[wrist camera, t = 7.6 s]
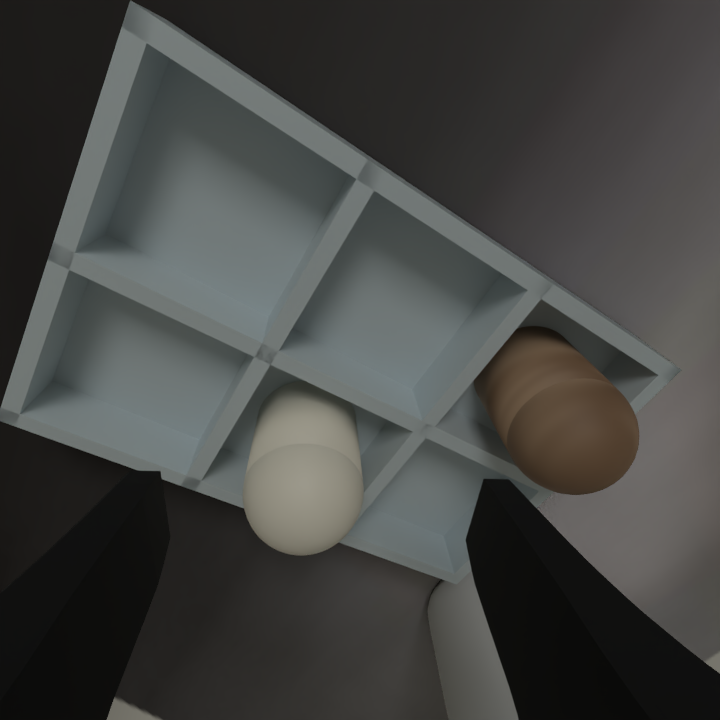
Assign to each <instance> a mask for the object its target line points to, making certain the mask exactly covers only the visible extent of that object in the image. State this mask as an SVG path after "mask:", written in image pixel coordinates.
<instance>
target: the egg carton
mask: <svg viewBox="0 0 720 720" xmlns="http://www.w3.org/2000/svg"><path fill="white" fill-rule="evenodd" d="M527 326H541V327H546V328H549V329H552V330H554V331H556V332H558V333H559V334H561V335H562V336H563V337H564V338H565V339H566V340H567V341H568V342H569V343H570V344H571V345H573V346H574V347H575V348H576V349H577V350H578V351H579V352H580V353H581V354H582V355H583V356H584V357H585V358H586V359H587V360H588V361H589V362H590V363H591V364H592V365H593V366H594V367H595V368H596V369H597V370H598V371H599V372H600V373H601V374H602V375H604V376H605V377H606V378H607V379H608V380H609V381H610V382H611V383H612V384H613V385H614V386H615V387H616V388H617V389H618V390H619V391H620V392H621V393H622V394H623V395H624V397H625V398H626V399H627V400H628V402H629V404H630V405H631V407H632V409H633V411H634V413H635V414H636V413H637V412H638V411H639V410H640V409H641V408H642V407H643V406H644V405H645V404H646V403H648V402H649V401H650V400H651V399H652V398H653V397H654V396H655V395H656V394H657V393H658V392H659V391H660V390H661V389H662V388H663V387H664V386H665V385H666V384H667V383H668V382H670V381H671V380H672V379H673V378H674V377H675V376H676V375H677V374H678V373H679V372H680V371H681V369H680V368H678V367H677V366H676V365H674V364H673V363H672V362H670V361H669V360H668V359H666V358H665V357H664V356H662V355H661V354H660V353H658V352H657V351H656V350H654V349H653V348H651V347H650V346H649V345H647V344H646V343H645V342H643V341H642V340H641V339H639V338H638V337H637V336H635V335H634V334H632V333H631V332H630V331H628V330H627V329H625V328H624V327H622V326H621V325H619V324H618V323H616V322H615V321H613V320H612V319H610V318H609V317H607V316H606V315H604V314H603V313H601V312H600V311H598V310H597V309H595V308H594V307H592V306H591V305H589V304H588V303H586V302H585V301H583V300H582V299H581V298H579V297H578V296H576V295H575V294H573V293H572V292H570V291H569V290H567V289H566V288H564V287H563V286H561V285H560V284H558V283H557V282H555V281H554V280H552V279H551V278H549V277H548V276H546V275H545V274H543V273H542V272H540V271H539V270H537V269H536V268H534V267H533V266H532V265H530V264H529V263H527V262H526V261H524V260H523V259H521V258H520V257H518V256H517V255H515V254H514V253H512V252H511V251H509V250H508V249H506V248H505V247H503V246H502V245H500V244H499V243H497V242H496V241H494V240H493V239H491V238H490V237H488V236H487V235H485V234H484V233H483V232H481V231H480V230H478V229H477V228H475V227H474V226H472V225H471V224H469V223H468V222H466V221H465V220H463V219H462V218H460V217H459V216H457V215H456V214H454V213H453V212H451V211H450V210H448V209H447V208H445V207H444V206H442V205H441V204H439V203H438V202H437V201H435V200H434V199H432V198H431V197H429V196H428V195H426V194H425V193H423V192H422V191H420V190H419V189H417V188H416V187H414V186H413V185H411V184H410V183H408V182H407V181H405V180H404V179H402V178H401V177H399V176H398V175H396V174H395V173H393V172H392V171H390V170H389V169H388V168H386V167H385V166H383V165H382V164H380V163H379V162H377V161H376V160H374V159H373V158H371V157H370V156H368V155H367V154H365V153H364V152H362V151H361V150H359V149H358V148H356V147H355V146H353V145H352V144H350V143H349V142H347V141H346V140H344V139H343V138H341V137H340V136H339V135H337V134H336V133H334V132H333V131H331V130H330V129H328V128H327V127H325V126H324V125H322V124H321V123H319V122H318V121H316V120H315V119H313V118H312V117H310V116H309V115H307V114H306V113H304V112H303V111H301V110H300V109H298V108H297V107H295V106H294V105H293V104H291V103H290V102H288V101H287V100H285V99H284V98H282V97H281V96H279V95H278V94H276V93H275V92H273V91H272V90H270V89H269V88H267V87H266V86H264V85H263V84H261V83H260V82H258V81H257V80H255V79H254V78H252V77H251V76H249V75H248V74H246V73H245V72H244V71H242V70H241V69H239V68H238V67H236V66H235V65H233V64H232V63H230V62H229V61H227V60H226V59H224V58H223V57H221V56H220V55H218V54H217V53H215V52H214V51H212V50H211V49H209V48H208V47H206V46H205V45H203V44H202V43H200V42H199V41H197V40H196V39H195V38H193V37H192V36H190V35H189V34H187V33H186V32H184V31H183V30H181V29H180V28H178V27H177V26H175V25H174V24H172V23H171V22H169V21H168V20H166V19H164V18H162V17H160V16H158V15H157V14H155V13H153V12H151V11H149V10H147V9H145V8H143V7H142V6H140V5H138V4H136V3H134V2H132V1H130V3H129V6H128V9H127V12H126V15H125V19H124V22H123V25H122V28H121V31H120V34H119V38H118V41H117V44H116V47H115V50H114V53H113V56H112V60H111V63H110V66H109V69H108V72H107V75H106V78H105V82H104V85H103V88H102V91H101V94H100V97H99V100H98V104H97V107H96V110H95V113H94V116H93V119H92V122H91V126H90V129H89V132H88V135H87V138H86V141H85V144H84V148H83V151H82V154H81V157H80V160H79V163H78V166H77V170H76V173H75V176H74V179H73V182H72V185H71V188H70V192H69V195H68V198H67V201H66V204H65V207H64V210H63V214H62V217H61V220H60V223H59V226H58V229H57V232H56V236H55V239H54V242H53V245H52V248H51V251H50V254H49V258H48V261H47V264H46V267H45V270H44V273H43V276H42V280H41V283H40V286H39V289H38V292H37V295H36V298H35V302H34V305H33V308H32V311H31V314H30V317H29V320H28V324H27V327H26V330H25V333H24V336H23V339H22V343H21V346H20V349H19V352H18V355H17V358H16V361H15V365H14V368H13V371H12V374H11V377H10V380H9V383H8V387H7V390H6V393H5V396H4V399H3V402H2V405H1V409H0V421H2V422H4V423H7V424H10V425H13V426H16V427H18V428H21V429H24V430H27V431H29V432H32V433H35V434H38V435H41V436H43V437H46V438H49V439H52V440H55V441H57V442H60V443H63V444H66V445H68V446H71V447H74V448H77V449H80V450H82V451H85V452H88V453H91V454H94V455H96V456H99V457H102V458H105V459H108V460H110V461H113V462H116V463H119V464H121V465H124V466H127V467H130V468H133V469H135V470H139V471H161V478H162V479H163V480H166V481H169V482H172V483H174V484H177V485H180V486H183V487H186V488H188V489H191V490H194V491H197V492H200V493H202V494H205V495H208V496H211V497H214V498H216V499H219V500H222V501H225V502H227V503H230V504H233V505H236V506H239V507H241V508H244V505H243V485H244V479H245V475H246V470H247V465H248V460H249V455H250V450H251V445H252V441H253V436H254V431H255V426H256V421H257V416H258V412H259V409H260V407H261V405H262V403H263V401H264V400H265V399H266V397H267V396H268V395H269V394H271V393H272V392H273V391H274V390H276V389H277V388H279V387H281V386H283V385H286V384H289V383H292V382H297V381H306V382H308V383H310V384H313V385H315V386H317V387H319V388H321V389H323V390H325V391H327V392H329V393H332V394H334V395H336V396H338V397H340V398H342V399H344V400H346V401H349V402H351V404H352V406H353V408H354V411H355V414H356V423H357V432H358V441H359V450H360V459H361V468H362V477H363V486H364V495H363V503H362V508H361V511H360V514H359V516H358V519H357V521H356V522H355V524H354V526H353V527H352V529H351V530H350V531H349V533H348V534H347V535H346V536H345V537H344V538H343V539H342V540H341V541H340V542H339V543H342V544H345V545H347V546H350V547H353V548H356V549H359V550H361V551H364V552H367V553H370V554H373V555H375V556H378V557H381V558H384V559H386V560H389V561H392V562H395V563H398V564H400V565H403V566H406V567H409V568H412V569H414V570H417V571H420V572H423V573H425V574H428V575H431V576H434V577H437V578H439V579H442V580H445V581H448V582H451V583H453V584H456V585H457V584H458V583H459V582H460V581H461V580H462V579H463V578H464V577H465V576H466V575H467V574H468V573H469V572H470V571H471V565H470V560H469V555H468V550H467V545H466V536H467V533H468V529H469V526H470V523H471V519H472V516H473V513H474V509H475V506H476V502H477V499H478V496H479V492H480V489H481V486H482V482H483V479H509V480H510V481H511V482H512V483H513V484H514V485H515V486H516V487H517V488H518V489H519V490H520V491H521V492H522V493H523V494H524V496H525V497H526V498H527V499H528V500H529V501H530V502H531V503H532V504H533V505H534V506H535V507H536V508H537V507H538V506H539V505H540V504H542V503H543V502H544V501H545V500H546V499H547V498H548V497H549V496H550V495H551V494H552V493H553V492H554V491H551V490H548V489H546V488H543V487H542V486H540V485H538V484H536V483H534V482H533V481H532V480H530V479H529V478H528V477H527V476H525V475H524V474H523V473H522V472H521V470H520V469H519V468H518V467H517V466H516V464H515V463H514V461H513V460H512V458H511V457H510V455H509V453H508V451H507V449H506V447H505V445H504V443H503V442H502V440H501V438H500V436H499V434H498V432H497V430H496V428H495V427H494V425H493V423H492V421H491V419H490V417H489V415H488V413H487V412H486V410H485V408H484V406H483V404H482V402H481V400H480V398H479V397H478V395H477V393H476V390H475V387H474V379H475V378H476V377H477V376H478V375H479V373H480V372H481V371H482V370H483V369H484V367H485V366H486V365H487V364H488V363H489V361H490V360H491V359H492V358H493V356H494V355H495V354H496V353H497V352H498V350H499V349H500V348H501V347H502V346H503V344H504V343H505V342H506V341H507V340H508V338H509V337H510V336H511V335H512V334H513V332H514V331H515V330H516V329H517V328H521V327H527Z"/></svg>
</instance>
